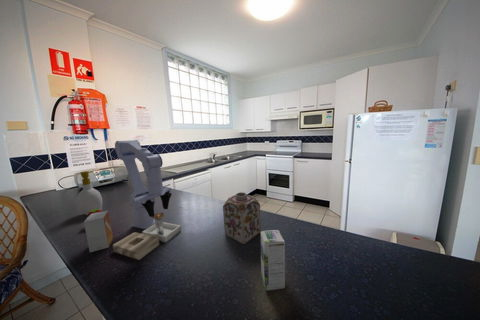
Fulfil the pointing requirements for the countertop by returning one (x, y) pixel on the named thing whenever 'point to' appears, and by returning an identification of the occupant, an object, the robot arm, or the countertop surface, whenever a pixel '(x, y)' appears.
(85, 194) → the soap bottle
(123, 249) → the hitch block
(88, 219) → the small box
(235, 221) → the decorative jar
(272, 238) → the syrup box
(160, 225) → the pin
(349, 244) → the countertop surface
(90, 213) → the strawberry
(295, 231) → the countertop surface
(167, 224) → the tray
